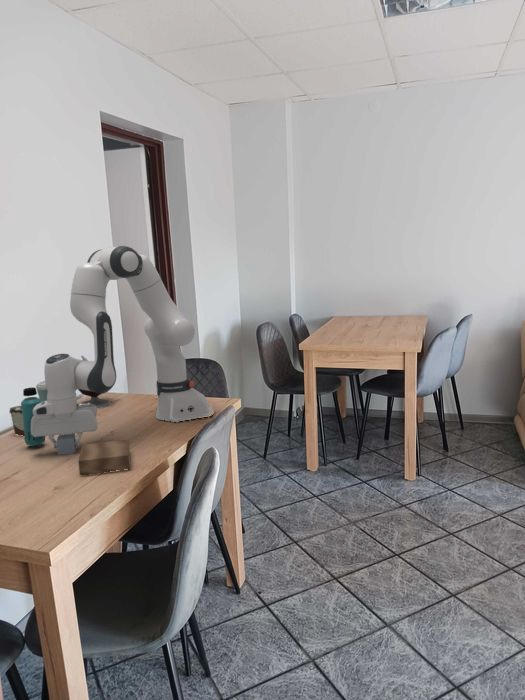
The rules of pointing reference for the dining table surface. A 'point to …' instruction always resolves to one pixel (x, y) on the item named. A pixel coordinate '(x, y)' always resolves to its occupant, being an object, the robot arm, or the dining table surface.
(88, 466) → the walnut block
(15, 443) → the dining table surface
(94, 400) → the mate gourd
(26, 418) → the beverage bottle
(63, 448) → the slate cube
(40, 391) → the disposable coffee cup
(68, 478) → the dining table surface
